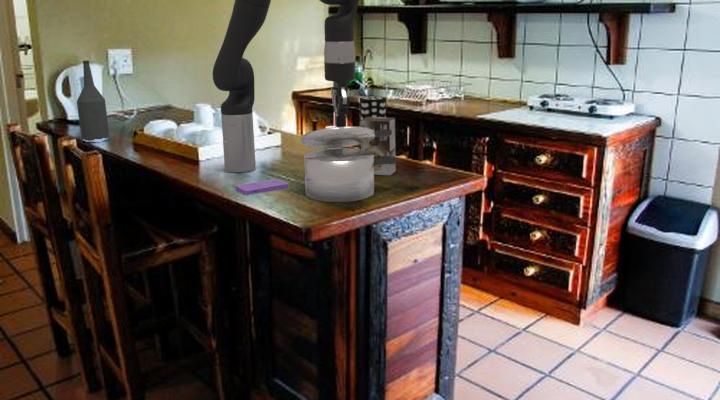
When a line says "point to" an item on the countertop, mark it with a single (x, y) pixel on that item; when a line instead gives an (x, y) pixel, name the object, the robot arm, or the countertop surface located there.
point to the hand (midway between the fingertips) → (341, 130)
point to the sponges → (261, 186)
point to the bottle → (91, 109)
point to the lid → (341, 136)
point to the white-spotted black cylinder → (372, 107)
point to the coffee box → (381, 142)
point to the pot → (341, 174)
